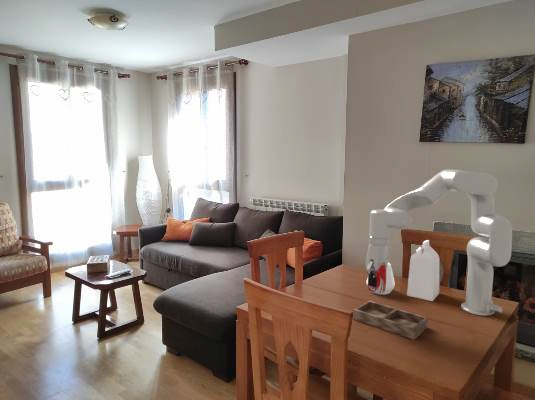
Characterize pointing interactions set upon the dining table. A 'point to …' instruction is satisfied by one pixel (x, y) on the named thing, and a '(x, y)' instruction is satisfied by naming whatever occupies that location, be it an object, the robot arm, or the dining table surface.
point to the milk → (424, 273)
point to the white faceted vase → (388, 280)
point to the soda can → (379, 280)
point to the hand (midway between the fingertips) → (376, 283)
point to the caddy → (391, 319)
